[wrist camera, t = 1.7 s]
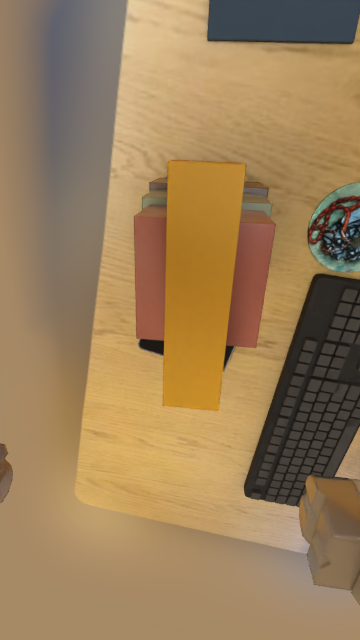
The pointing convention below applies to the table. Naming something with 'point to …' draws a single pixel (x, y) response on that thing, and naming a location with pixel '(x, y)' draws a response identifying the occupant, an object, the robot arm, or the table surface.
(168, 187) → the bar
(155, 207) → the tower
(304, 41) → the mat
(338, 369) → the keyboard
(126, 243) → the table surface
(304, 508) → the robot arm
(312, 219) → the dish
